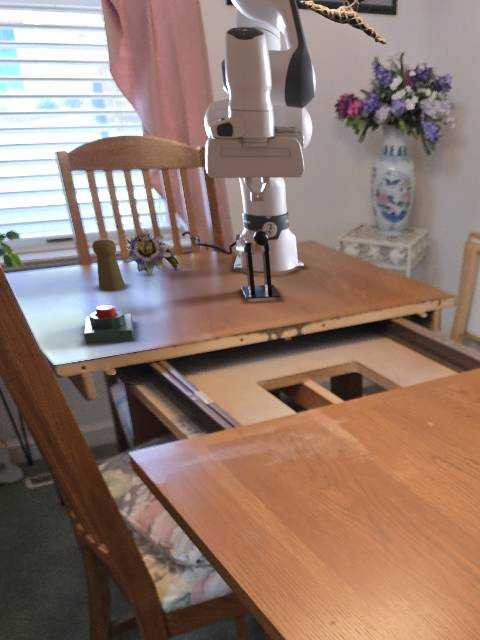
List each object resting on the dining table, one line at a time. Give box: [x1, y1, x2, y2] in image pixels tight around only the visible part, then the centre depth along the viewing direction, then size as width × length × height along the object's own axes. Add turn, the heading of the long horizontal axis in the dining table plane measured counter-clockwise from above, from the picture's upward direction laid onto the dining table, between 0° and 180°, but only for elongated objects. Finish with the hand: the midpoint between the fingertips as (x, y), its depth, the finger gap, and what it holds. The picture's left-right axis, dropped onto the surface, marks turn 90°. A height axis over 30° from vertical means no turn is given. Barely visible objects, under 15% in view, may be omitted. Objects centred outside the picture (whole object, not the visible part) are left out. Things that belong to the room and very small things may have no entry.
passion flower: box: [123, 228, 179, 276], centre depth 184 cm, size 11×11×12 cm
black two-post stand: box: [240, 238, 281, 300], centre depth 167 cm, size 10×8×13 cm
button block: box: [83, 309, 135, 345], centre depth 145 cm, size 11×9×4 cm
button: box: [95, 304, 116, 318], centre depth 144 cm, size 4×4×2 cm
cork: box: [92, 238, 126, 292], centre depth 169 cm, size 6×6×11 cm
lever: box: [251, 230, 269, 255], centre depth 160 cm, size 13×3×3 cm, turn 18°
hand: (258, 201), depth 151 cm, fingers closed
